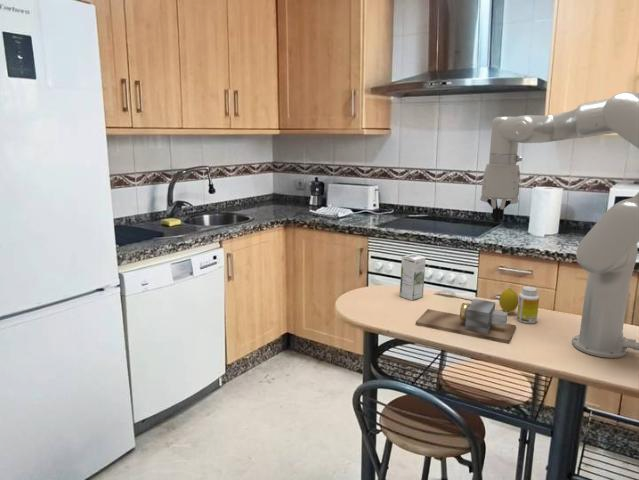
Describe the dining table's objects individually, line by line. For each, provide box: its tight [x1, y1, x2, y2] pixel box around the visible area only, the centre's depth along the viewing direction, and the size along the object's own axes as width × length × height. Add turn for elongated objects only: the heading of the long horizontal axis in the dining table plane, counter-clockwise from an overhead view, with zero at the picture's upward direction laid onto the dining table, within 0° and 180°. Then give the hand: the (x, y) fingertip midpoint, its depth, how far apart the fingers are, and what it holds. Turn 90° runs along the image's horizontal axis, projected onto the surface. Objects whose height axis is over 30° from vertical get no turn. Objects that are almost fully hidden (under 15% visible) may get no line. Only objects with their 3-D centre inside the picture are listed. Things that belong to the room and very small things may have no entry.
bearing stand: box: [415, 298, 517, 344], centre depth 143 cm, size 26×12×7 cm, turn 61°
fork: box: [433, 289, 475, 301], centre depth 168 cm, size 3×21×3 cm, turn 59°
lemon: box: [499, 288, 519, 314], centre depth 154 cm, size 6×6×8 cm
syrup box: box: [399, 253, 426, 301], centre depth 167 cm, size 6×6×14 cm
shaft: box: [459, 302, 509, 326], centre depth 141 cm, size 12×5×5 cm, turn 61°
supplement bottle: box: [516, 286, 540, 324], centre depth 148 cm, size 6×6×10 cm
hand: (497, 221), depth 148 cm, fingers closed
